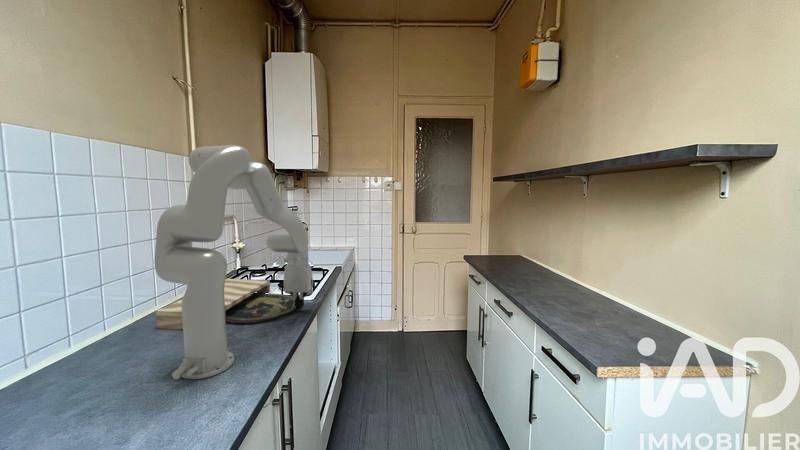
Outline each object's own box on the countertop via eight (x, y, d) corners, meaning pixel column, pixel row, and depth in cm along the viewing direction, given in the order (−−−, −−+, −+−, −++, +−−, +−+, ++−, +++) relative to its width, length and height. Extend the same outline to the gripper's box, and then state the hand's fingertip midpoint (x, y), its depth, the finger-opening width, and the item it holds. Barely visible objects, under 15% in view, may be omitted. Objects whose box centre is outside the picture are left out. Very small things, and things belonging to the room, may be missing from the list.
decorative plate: (273, 324, 109) (196, 316, 114) (273, 329, 109) (196, 322, 115) (313, 296, 138) (250, 291, 144) (313, 300, 139) (250, 295, 144)
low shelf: (214, 330, 107) (213, 313, 106) (157, 328, 109) (156, 310, 108) (270, 293, 146) (269, 280, 145) (227, 291, 147) (227, 278, 147)
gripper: (274, 263, 120) (276, 311, 122) (313, 264, 118) (315, 312, 121) (283, 258, 127) (285, 304, 129) (320, 259, 126) (321, 305, 128)
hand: (299, 308), depth 125 cm, fingers closed
